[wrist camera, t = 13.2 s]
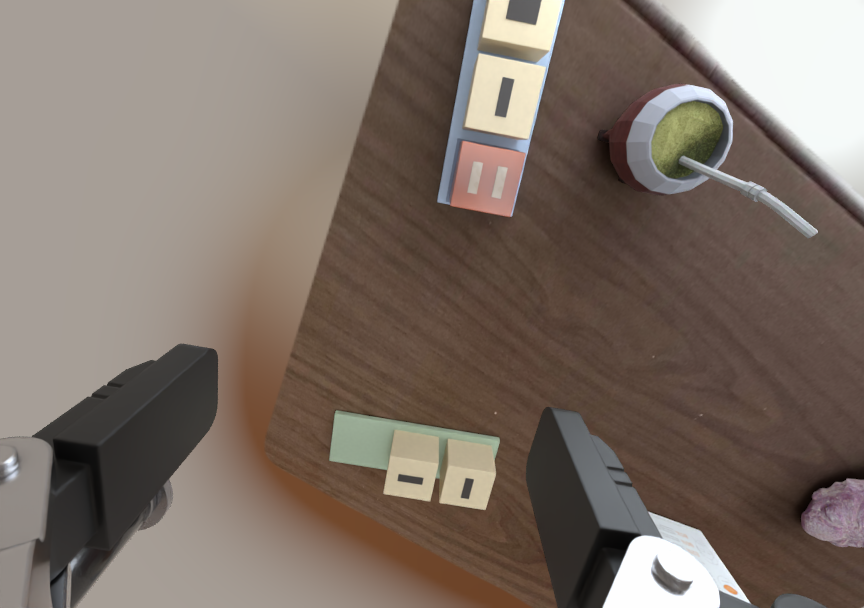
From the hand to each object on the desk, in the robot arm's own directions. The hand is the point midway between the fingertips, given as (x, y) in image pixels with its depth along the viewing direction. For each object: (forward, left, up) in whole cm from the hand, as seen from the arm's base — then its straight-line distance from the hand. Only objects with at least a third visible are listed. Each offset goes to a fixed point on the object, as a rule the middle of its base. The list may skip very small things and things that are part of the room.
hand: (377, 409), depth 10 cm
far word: (+3, -23, -28) cm, 37 cm away
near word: (+4, +10, -28) cm, 30 cm away
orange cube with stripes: (+4, +5, -27) cm, 28 cm away
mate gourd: (+16, +9, -28) cm, 34 cm away
